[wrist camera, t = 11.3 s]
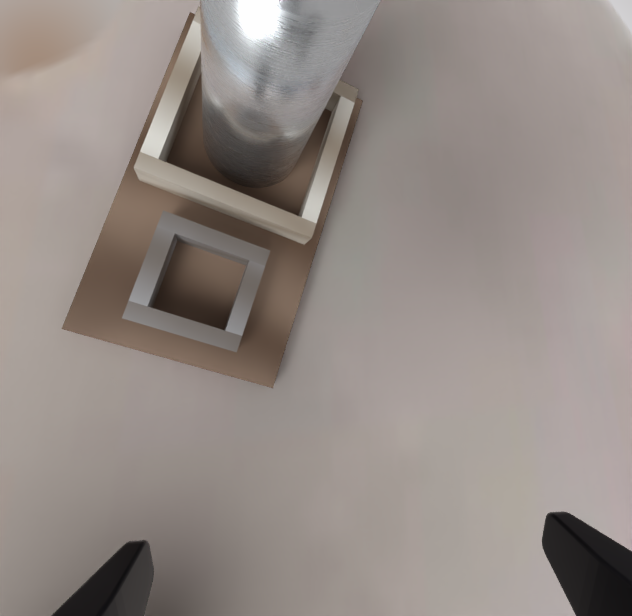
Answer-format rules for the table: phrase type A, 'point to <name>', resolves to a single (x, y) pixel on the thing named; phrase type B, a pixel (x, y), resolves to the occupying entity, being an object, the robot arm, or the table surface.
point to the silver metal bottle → (271, 78)
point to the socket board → (208, 238)
